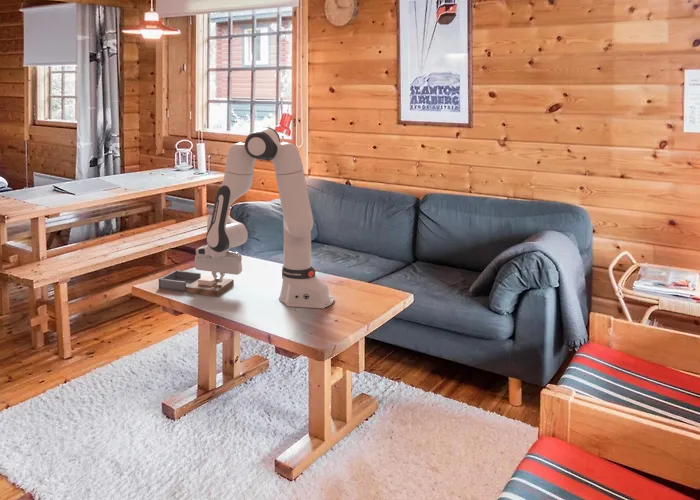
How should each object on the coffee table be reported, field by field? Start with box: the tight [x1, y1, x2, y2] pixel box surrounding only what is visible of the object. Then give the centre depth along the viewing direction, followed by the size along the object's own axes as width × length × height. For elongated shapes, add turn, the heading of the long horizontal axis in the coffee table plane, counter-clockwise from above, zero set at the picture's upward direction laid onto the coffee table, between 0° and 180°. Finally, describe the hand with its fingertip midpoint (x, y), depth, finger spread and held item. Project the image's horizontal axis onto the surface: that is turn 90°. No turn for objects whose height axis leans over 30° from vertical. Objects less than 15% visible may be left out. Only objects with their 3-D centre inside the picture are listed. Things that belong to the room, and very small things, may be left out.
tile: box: [198, 275, 216, 286], centre depth 269 cm, size 6×6×2 cm
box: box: [158, 269, 202, 293], centre depth 272 cm, size 12×14×4 cm
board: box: [185, 276, 235, 297], centre depth 269 cm, size 14×16×2 cm
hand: (218, 281), depth 267 cm, fingers closed
